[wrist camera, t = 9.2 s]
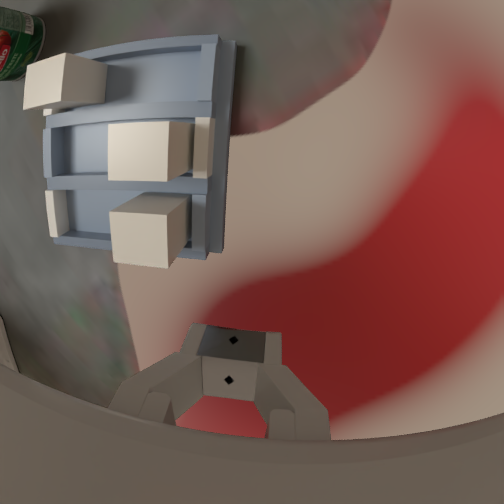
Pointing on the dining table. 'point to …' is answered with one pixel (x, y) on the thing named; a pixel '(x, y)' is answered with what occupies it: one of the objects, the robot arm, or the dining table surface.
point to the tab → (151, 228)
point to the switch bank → (144, 110)
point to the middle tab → (150, 150)
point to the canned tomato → (19, 42)
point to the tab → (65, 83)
